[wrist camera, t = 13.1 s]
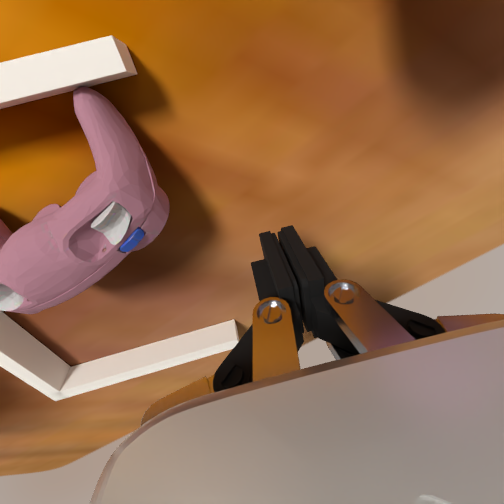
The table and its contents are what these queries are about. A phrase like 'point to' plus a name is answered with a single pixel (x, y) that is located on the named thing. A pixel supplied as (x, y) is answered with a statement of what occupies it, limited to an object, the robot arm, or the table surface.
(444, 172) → the table surface
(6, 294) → the video game controller
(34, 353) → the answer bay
